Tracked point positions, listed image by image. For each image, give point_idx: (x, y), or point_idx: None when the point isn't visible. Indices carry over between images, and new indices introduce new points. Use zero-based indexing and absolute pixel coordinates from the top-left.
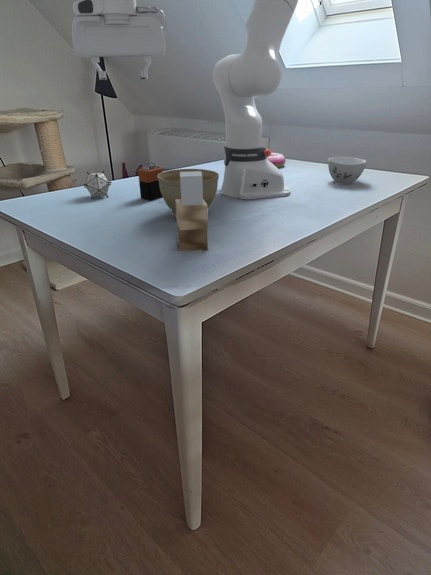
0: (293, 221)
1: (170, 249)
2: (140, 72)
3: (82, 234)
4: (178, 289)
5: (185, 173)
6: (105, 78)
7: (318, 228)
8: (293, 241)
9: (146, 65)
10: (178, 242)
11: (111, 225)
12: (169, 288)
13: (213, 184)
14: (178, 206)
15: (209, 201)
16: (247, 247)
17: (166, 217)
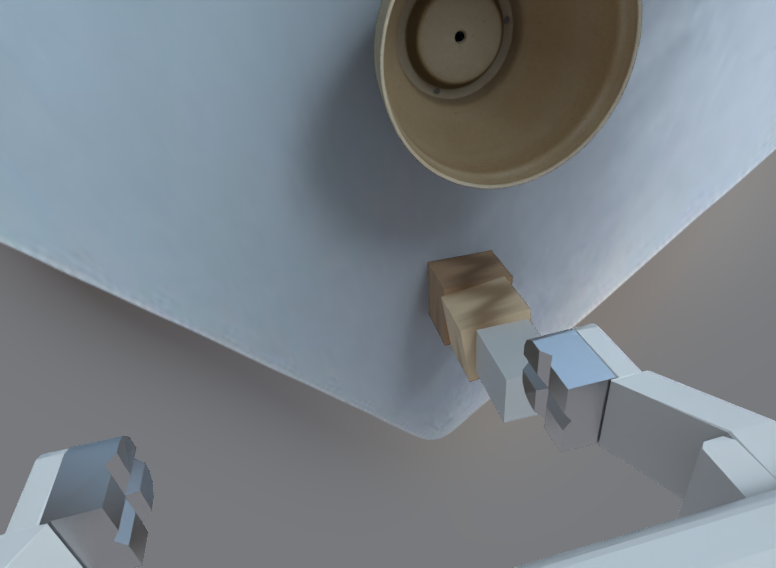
0: (732, 105)
1: (411, 309)
2: (551, 437)
3: (148, 248)
4: (435, 429)
5: (519, 393)
6: (152, 493)
7: (758, 158)
8: (666, 242)
9: (660, 480)
10: (436, 328)
11: (204, 167)
12: (422, 430)
13: (589, 113)
14: (468, 374)
15: (543, 98)
16: (568, 281)
17: (374, 75)
